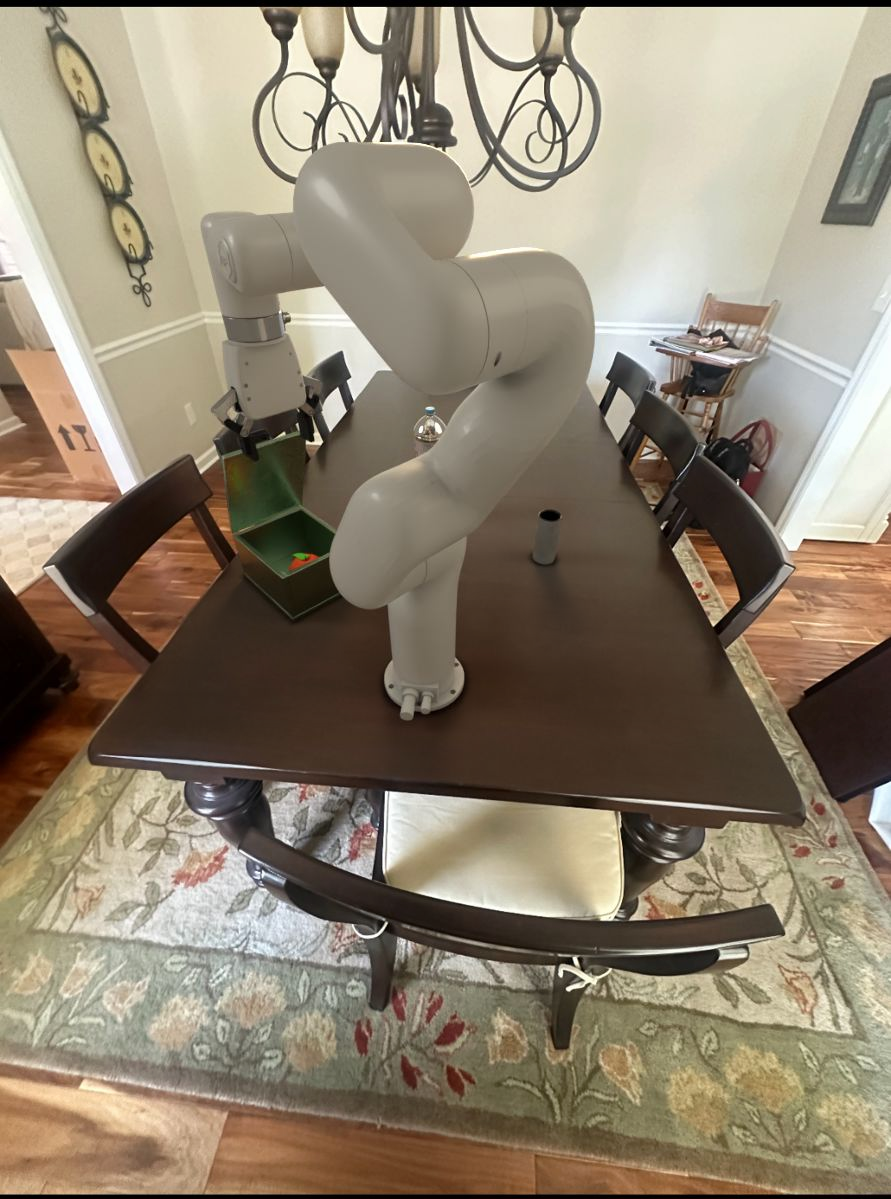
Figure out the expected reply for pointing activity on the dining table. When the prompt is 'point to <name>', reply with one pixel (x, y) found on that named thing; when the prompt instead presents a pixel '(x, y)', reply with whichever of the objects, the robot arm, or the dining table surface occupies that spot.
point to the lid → (264, 479)
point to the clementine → (301, 560)
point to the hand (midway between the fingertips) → (281, 448)
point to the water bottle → (427, 431)
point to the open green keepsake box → (289, 561)
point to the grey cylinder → (547, 536)
